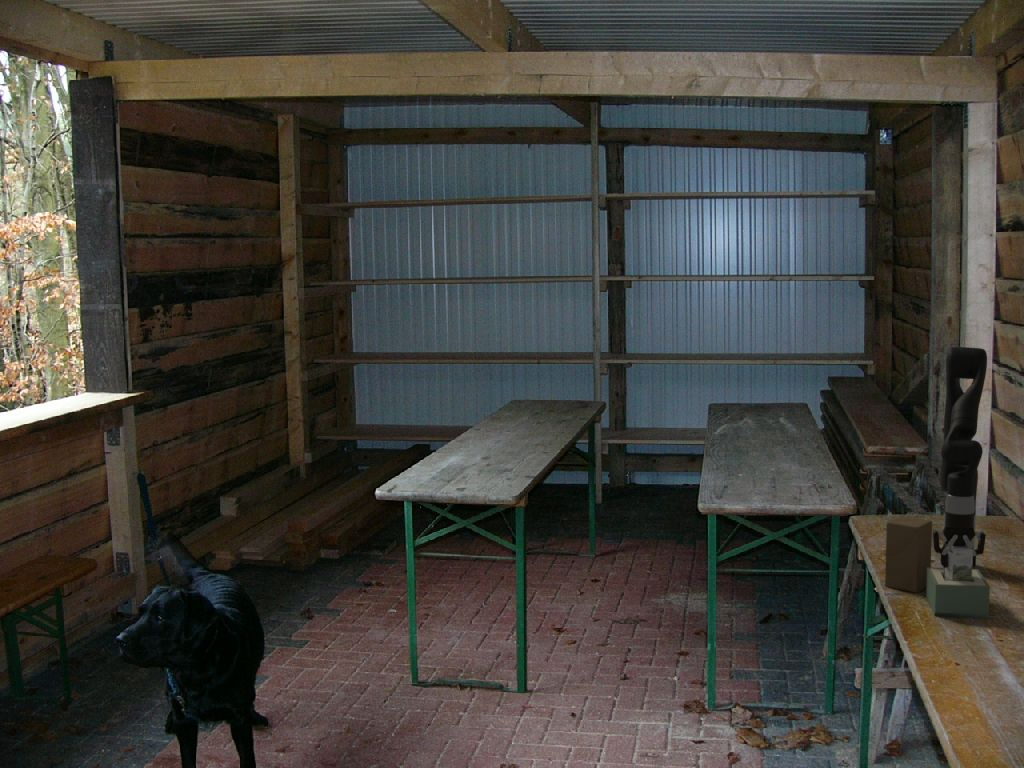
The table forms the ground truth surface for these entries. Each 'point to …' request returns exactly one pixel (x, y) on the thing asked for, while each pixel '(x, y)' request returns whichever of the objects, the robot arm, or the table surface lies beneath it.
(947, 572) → the syrup box
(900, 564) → the wooden block
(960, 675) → the table surface
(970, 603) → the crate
